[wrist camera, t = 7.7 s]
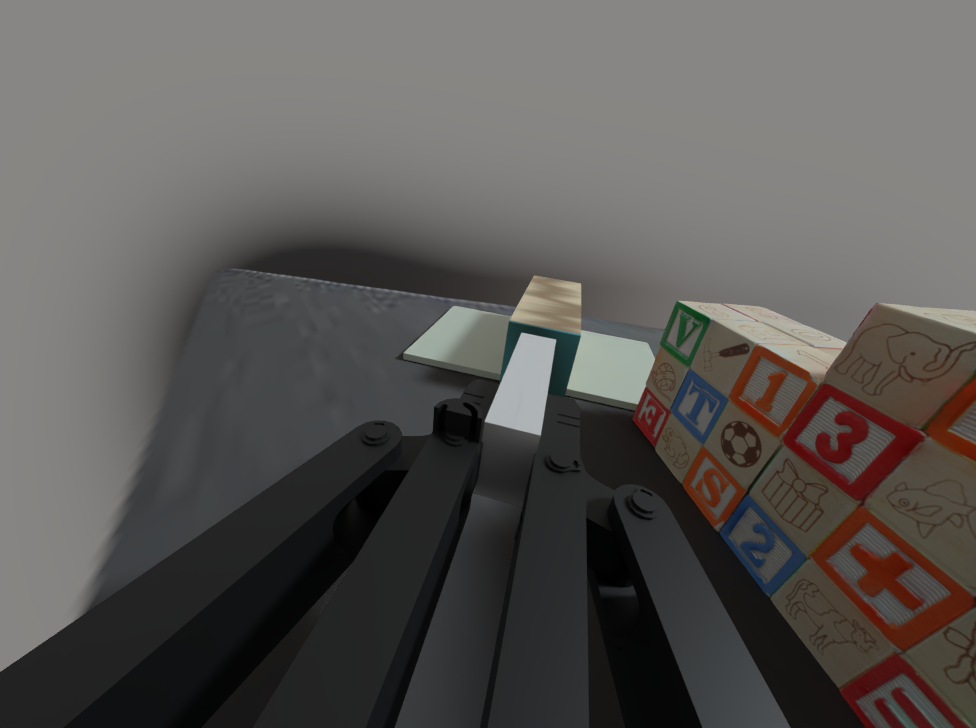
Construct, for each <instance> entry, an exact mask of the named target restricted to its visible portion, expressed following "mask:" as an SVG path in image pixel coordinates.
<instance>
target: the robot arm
mask: <svg viewBox="0 0 976 728" xmlns="http://www.w3.org/2000/svg"><path fill="white" fill-rule="evenodd" d="M555 344H556V339H551V338H546V337H541V336H536V335H531V334H526V333H521V335H520V338H519V340H518V342H517V345H516V347H515V350H514V352H513V354H512V357H511V359H510V362H509V364H508V366H507V369H506V371H505V374H504V376H503V378H502V381H501V383H500V384H499V383H494V382H490V381H486V380H481V379H476V380H475V381H473V382H471V383H470V384H468V386H467V388H466V389H465V391H464V393H463V394H462V396H461V398H460V399H457V398H455V399H447V400H444V401H441V402H439V403H438V404H437V405H436V406H435V407H434V421H433V432H432V434H430V435H426V436H402V433H401V430H400V428H399V427H398V426H396V425H395V424H393V423H391V422H387V421H371V422H367V423H364V424H362V425H360V426H358V427H356V428H355V429H354V430H352V431H351V432H349V433H348V434H346V435H345V436H343V437H342V438H340V439H339V440H338V441H336V442H335V443H333V444H332V445H330V446H329V447H327V448H326V449H324V450H323V451H322V452H320V453H319V454H317V455H316V456H314V457H313V458H311V459H310V460H308V461H307V462H306V463H304V464H303V465H301V466H300V467H298V468H297V469H295V470H294V471H292V472H291V473H290V474H288V475H287V476H285V477H284V478H282V479H281V480H279V481H278V482H276V483H275V484H273V485H272V486H271V487H269V488H268V489H266V490H265V491H263V492H262V493H260V494H259V495H257V496H256V497H255V498H253V499H252V500H250V501H249V502H247V503H246V504H244V505H243V506H241V507H240V508H239V509H237V510H236V511H234V512H233V513H231V514H230V515H228V516H227V517H225V518H224V519H223V520H221V521H220V522H218V523H217V524H215V525H214V526H212V527H211V528H209V529H208V530H206V531H205V532H204V533H202V534H201V535H199V536H198V537H196V538H195V539H193V540H192V541H190V542H189V543H188V544H186V545H185V546H183V547H182V548H180V549H179V550H177V551H176V552H174V553H173V554H172V555H170V556H169V557H167V558H166V559H164V560H163V561H161V562H160V563H158V564H157V565H156V566H154V567H153V568H151V569H150V570H148V571H147V572H145V573H144V574H142V575H141V576H140V577H138V578H137V579H135V580H134V581H132V582H131V583H129V584H128V585H126V586H125V587H123V588H122V589H121V590H119V591H118V592H116V593H115V594H113V595H112V596H110V597H109V598H107V599H106V600H105V601H103V602H102V603H100V604H99V605H97V606H96V607H94V608H93V609H91V610H90V611H89V612H87V613H86V614H84V615H83V616H81V617H80V618H78V619H77V620H75V621H74V622H73V623H71V624H70V625H68V626H67V627H65V628H64V629H62V630H61V631H60V632H58V633H57V634H55V635H54V636H52V637H51V638H49V639H48V640H46V641H45V642H43V643H42V644H41V645H39V646H38V647H36V648H35V649H33V650H32V651H30V652H29V653H28V654H26V655H25V656H23V657H22V658H20V659H19V660H17V661H16V662H14V663H13V664H11V665H10V666H9V667H7V668H6V669H4V670H3V671H1V672H0V728H201V727H202V726H203V725H204V724H205V723H206V722H207V720H208V719H209V718H210V717H211V716H212V715H213V714H214V713H215V712H216V711H217V710H218V709H219V707H220V706H221V705H222V704H223V703H224V702H225V701H226V700H227V699H228V698H229V697H230V695H231V694H232V693H233V692H234V691H235V690H236V689H237V688H238V687H239V686H240V685H241V683H242V682H243V681H244V680H245V679H246V678H247V677H248V676H249V675H250V674H251V673H252V671H253V670H254V669H255V668H256V667H257V666H258V665H259V664H260V663H261V662H262V661H263V659H264V658H265V657H266V656H267V655H268V654H269V653H270V652H271V651H272V650H273V649H274V647H275V646H276V645H277V644H278V643H279V642H280V641H281V640H282V639H283V638H284V637H285V635H286V634H287V633H288V632H289V631H290V630H291V629H292V628H293V627H294V626H295V625H296V624H297V622H298V621H299V620H300V619H301V618H302V617H303V616H304V615H305V614H306V613H307V612H308V610H309V609H310V608H311V607H312V606H313V605H314V604H315V603H316V602H317V601H318V600H319V598H320V597H321V596H322V595H323V594H324V593H325V592H326V591H327V590H328V589H329V588H330V586H331V585H332V584H333V583H334V582H335V581H336V580H337V579H338V578H339V577H340V576H341V574H342V573H343V572H344V571H345V570H346V569H347V568H348V567H349V566H350V565H351V564H352V565H351V567H350V568H349V570H348V572H347V573H346V575H345V576H344V578H343V580H342V581H341V583H340V585H339V586H338V588H337V590H336V591H335V593H334V595H333V596H332V598H331V599H330V601H329V603H328V604H327V606H326V608H325V609H324V611H323V613H322V614H321V616H320V617H319V619H318V621H317V622H316V624H315V626H314V627H313V629H312V631H311V632H310V634H309V636H308V637H307V639H306V640H305V642H304V644H303V645H302V647H301V649H300V650H299V652H298V654H297V655H296V657H295V659H294V660H293V662H292V663H291V665H290V667H289V668H288V670H287V672H286V673H285V675H284V677H283V678H282V680H281V682H280V683H279V685H278V686H277V688H276V690H275V691H274V693H273V695H272V696H271V698H270V700H269V701H268V703H267V704H266V706H265V708H264V709H263V711H262V713H261V714H260V716H259V718H258V719H257V721H256V723H255V724H254V726H253V727H252V728H394V727H395V724H396V722H397V719H398V716H399V713H400V710H401V707H402V704H403V701H404V698H405V695H406V693H407V690H408V687H409V684H410V681H411V678H412V675H413V672H414V669H415V666H416V663H417V661H418V658H419V655H420V652H421V649H422V646H423V643H424V640H425V637H426V634H427V632H428V629H429V626H430V623H431V620H432V617H433V614H434V611H435V608H436V605H437V603H438V600H439V597H440V594H441V591H442V588H443V585H444V582H445V579H446V576H447V574H448V571H449V568H450V565H451V562H452V559H453V556H454V553H455V550H456V547H457V544H458V542H459V539H460V536H461V533H462V530H463V527H464V524H465V521H466V518H467V515H468V513H469V510H470V504H471V497H472V494H473V491H474V488H475V492H474V494H477V495H481V496H485V497H488V498H492V499H495V500H499V501H502V502H506V503H509V504H513V505H516V506H520V507H522V512H521V516H520V520H519V524H518V528H517V532H516V536H515V546H514V551H513V556H512V562H511V567H510V572H509V577H508V583H507V588H506V593H505V599H504V604H503V609H502V614H501V620H500V625H499V630H498V636H497V641H496V646H495V652H494V657H493V662H492V667H491V673H490V678H489V683H488V689H487V694H486V699H485V704H484V710H483V715H482V720H481V726H480V728H589V685H588V615H587V576H588V580H589V584H590V588H591V592H592V596H593V600H594V604H595V608H596V612H597V616H598V620H599V624H600V628H601V632H602V636H603V640H604V644H605V648H606V652H607V656H608V660H609V664H610V668H611V672H612V676H613V680H614V684H615V688H616V692H617V696H618V700H619V704H620V708H621V712H622V716H623V720H624V724H625V728H791V727H790V726H789V724H788V722H787V720H786V718H785V716H784V715H783V713H782V711H781V709H780V707H779V706H778V704H777V702H776V700H775V698H774V697H773V695H772V693H771V691H770V689H769V687H768V686H767V684H766V682H765V680H764V678H763V677H762V675H761V673H760V671H759V669H758V667H757V666H756V664H755V662H754V660H753V658H752V657H751V655H750V653H749V651H748V649H747V648H746V646H745V644H744V642H743V640H742V638H741V637H740V635H739V633H738V631H737V629H736V628H735V626H734V624H733V622H732V620H731V619H730V617H729V615H728V613H727V611H726V609H725V608H724V606H723V604H722V602H721V600H720V599H719V597H718V595H717V593H716V591H715V589H714V588H713V586H712V584H711V582H710V580H709V579H708V577H707V575H706V573H705V571H704V570H703V568H702V566H701V564H700V562H699V560H698V559H697V557H696V555H695V553H694V551H693V550H692V548H691V546H690V544H689V542H688V540H687V539H686V537H685V535H684V533H683V531H682V530H681V528H680V526H679V524H678V522H677V521H676V519H675V517H674V515H673V513H672V511H671V510H670V508H669V507H668V505H667V504H666V503H665V501H664V500H663V499H662V498H661V497H659V496H658V495H657V494H656V493H654V492H653V491H651V490H649V489H647V488H645V487H643V486H639V485H635V484H625V485H622V486H620V487H618V488H617V489H616V491H615V490H613V489H611V488H609V487H607V486H605V485H604V484H602V483H600V482H598V481H597V480H595V479H594V478H593V477H592V476H590V475H589V474H588V473H587V471H586V470H585V467H584V463H583V462H582V461H581V458H580V408H579V406H578V405H577V403H576V402H575V400H573V399H569V398H565V397H560V396H556V395H551V394H548V387H549V381H550V375H551V369H552V363H553V357H554V350H555ZM353 561H354V562H353ZM352 562H353V563H352Z"/></svg>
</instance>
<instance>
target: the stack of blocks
mask: <svg viewBox="0 0 976 728" xmlns="http://www.w3.org/2000/svg"><path fill="white" fill-rule="evenodd" d="M660 346H661V348H660V350H659V352H658V354H657V356H656V359H655V361H654V364H653V367H652V369H651V371H650V374H649V377H648V379H647V381H646V387H645V389H644V391H643V393H642V396H641V398H640V401H639V403H638V406H637V408H636V411H635V413H634V416H633V421H634V422H635V424H636V425H637V426H638V427H639V429H640V430H641V431H642V432H643V434H644V435H645V436H646V438H647V439H648V440H649V441H650V442H651V444H652V445H653V446H654V447H655V451H656V452H657V454H658V455H659V456H660V458H661V459H662V460H663V462H664V463H665V464H666V466H667V467H668V468H669V470H670V471H671V472H672V474H673V475H674V476H675V477H676V479H677V480H678V481H679V482H680V483H681V484H682V485H683V487H684V489H685V490H686V492H687V493H688V495H689V496H690V497H691V499H692V500H693V501H694V502H695V504H696V505H697V506H698V508H699V509H700V511H701V512H702V513H703V515H704V516H705V517H706V518H707V520H708V521H709V522H710V524H711V525H712V526H713V528H714V529H715V530H716V531H718V532H719V533H720V534H721V536H722V538H723V539H724V541H725V542H726V543H727V545H728V546H729V547H730V548H731V550H732V551H733V552H734V554H735V555H736V556H737V558H738V559H739V560H740V561H741V563H742V564H743V565H744V566H745V568H746V569H747V570H748V572H749V573H750V575H751V576H752V577H753V578H754V580H755V581H756V582H757V584H758V585H759V586H760V588H761V589H762V590H763V592H764V593H765V594H766V595H767V596H768V597H769V598H770V599H771V601H772V602H773V604H774V605H775V607H776V608H777V609H778V611H779V612H780V613H781V614H782V616H783V617H784V618H785V620H786V621H787V622H788V623H789V625H790V626H791V627H792V629H793V630H794V631H795V632H796V634H797V635H798V637H799V638H800V639H801V641H802V642H803V643H804V644H805V646H806V647H807V648H808V649H809V651H810V652H811V653H812V655H813V656H814V657H815V659H816V660H817V661H818V663H819V664H820V665H821V667H822V668H823V669H824V670H825V672H826V673H827V674H828V676H829V677H830V678H831V679H832V681H833V682H834V683H835V684H836V686H837V687H838V688H839V690H840V693H841V695H842V696H843V698H844V699H845V700H846V702H847V703H848V704H849V705H850V707H851V708H852V709H853V711H854V712H855V713H856V715H857V716H858V718H859V719H860V720H861V722H862V723H863V724H864V725H865V727H866V728H976V311H965V310H952V309H941V308H922V307H913V306H904V305H894V304H882V303H876V305H874V306H873V308H872V309H871V310H870V311H869V312H868V314H867V315H866V317H865V318H864V320H863V321H862V323H861V324H860V325H859V327H858V328H857V330H856V331H855V332H854V334H853V336H852V337H851V339H850V340H849V341H848V343H846V342H844V341H841V340H839V339H837V338H834V337H832V336H830V335H827V334H825V333H822V332H820V331H818V330H815V329H813V328H811V327H808V326H804V325H802V324H801V323H798V322H796V321H794V320H791V319H789V318H787V317H785V316H782V315H780V314H778V313H775V312H772V311H770V310H768V309H766V308H763V307H757V306H746V305H734V304H712V303H701V302H687V301H677V302H676V304H675V306H674V309H673V311H672V314H671V316H670V319H669V321H668V324H667V326H666V329H665V332H664V334H663V337H662V339H661V342H660Z"/></svg>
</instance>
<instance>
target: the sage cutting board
mask: <svg viewBox="0 0 976 728" xmlns="http://www.w3.org/2000/svg"><path fill="white" fill-rule="evenodd" d="M510 319H511V317H510V316H505V315H500V314H494V313H489V312H484V311H479V310H474V309H468V308H463V307H458V306H453V307H452V308H451V309H450V310H449V311H448V312H447V313H446V314H445V315H444V316H443V317H441V318H440V319H439V320H438V321H437V322H436V323H435V324H434V325H433V326H432V327H431V328H430V329H429V330H428V331H426V332H425V333H424V334H423V335H422V336H421V337H420V338H419V339H418V340H417V341H416V342H415V343H414V344H413V345H411V346H410V347H409V348H408V349H407V350H406V351H405V352H404V353H403V359H404V360H409V361H413V362H418V363H422V364H427V365H431V366H436V367H440V368H445V369H449V370H454V371H458V372H463V373H467V374H472V375H476V376H481V377H485V378H490V379H494V380H499V381H500V375H501V369H502V362H503V356H504V349H505V343H506V337H507V330H508V324H509V320H510ZM654 361H655V358H654V356H653V354H652V351H651V349H650V347H649V345H648V343H645V342H640V341H634V340H629V339H624V338H619V337H614V336H609V335H603V334H598V333H593V332H588V331H583V330H581V338H580V342H579V345H578V349H577V353H576V357H575V360H574V364H573V368H572V371H571V375H570V379H569V383H568V386H567V390H566V394H565V395H566V396H571V397H575V398H580V399H584V400H589V401H593V402H598V403H602V404H607V405H611V406H616V407H620V408H625V409H629V410H634V411H636V408H637V406H638V403H639V401H640V398H641V396H642V393H643V391H644V389H645V387H646V381H647V379H648V377H649V374H650V371H651V369H652V367H653V364H654Z"/></svg>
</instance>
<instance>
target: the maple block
mask: <svg viewBox="0 0 976 728" xmlns="http://www.w3.org/2000/svg"><path fill="white" fill-rule="evenodd" d="M521 333H526V334H531V335H536V336H541V337H546V338H551V339H556V344H555V350H554V357H553V363H552V369H551V375H550V381H549V387H548V394H552V395H557V396H561V397H565V394H566V390H567V386H568V383H569V379H570V375H571V371H572V368H573V364H574V360H575V357H576V353H577V349H578V345H579V342H580V338H581V284H580V283H574V282H568V281H562V280H557V279H551V278H546V277H540V276H534V277H533V279H532V281H531V283H530V284H529V286H528V288H527V290H526V291H525V293H524V295H523V297H522V299H521V301H520V302H519V304H518V306H517V308H516V310H515V311H514V313H513V315H512V317H511V319H510V320H509V324H508V330H507V337H506V343H505V349H504V356H503V362H502V369H501V375H500V383H501V381H502V378H503V376H504V374H505V371H506V369H507V366H508V364H509V362H510V359H511V357H512V354H513V352H514V350H515V347H516V345H517V342H518V340H519V338H520V335H521Z"/></svg>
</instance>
